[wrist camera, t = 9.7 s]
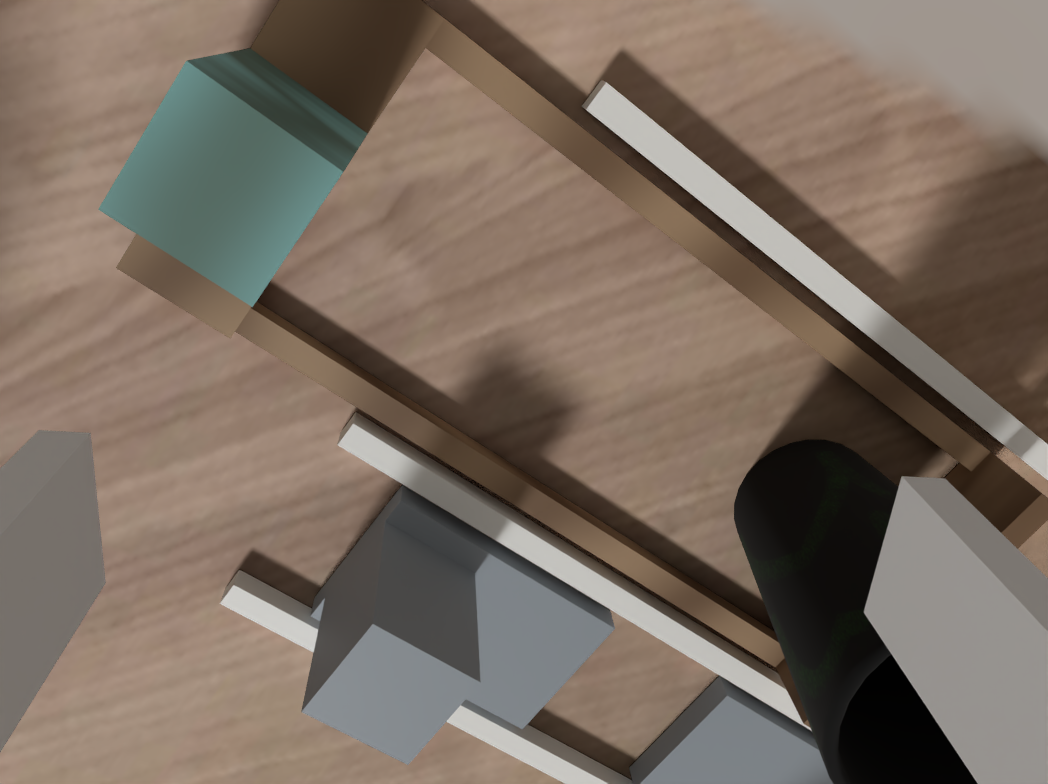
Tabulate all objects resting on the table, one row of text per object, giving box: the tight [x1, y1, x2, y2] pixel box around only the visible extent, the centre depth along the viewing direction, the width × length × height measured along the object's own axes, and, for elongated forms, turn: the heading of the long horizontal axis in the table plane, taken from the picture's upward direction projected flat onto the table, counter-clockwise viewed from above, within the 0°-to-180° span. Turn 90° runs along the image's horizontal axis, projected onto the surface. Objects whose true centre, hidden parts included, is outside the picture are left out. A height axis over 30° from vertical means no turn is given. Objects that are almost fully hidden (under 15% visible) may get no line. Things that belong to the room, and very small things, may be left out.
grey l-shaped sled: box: [301, 485, 615, 765], centre depth 33 cm, size 10×6×7 cm, turn 53°
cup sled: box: [98, 0, 1048, 728], centre depth 29 cm, size 30×12×8 cm, turn 53°
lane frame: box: [220, 80, 1048, 784], centre depth 36 cm, size 34×23×1 cm
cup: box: [734, 440, 978, 784], centre depth 30 cm, size 8×8×12 cm
